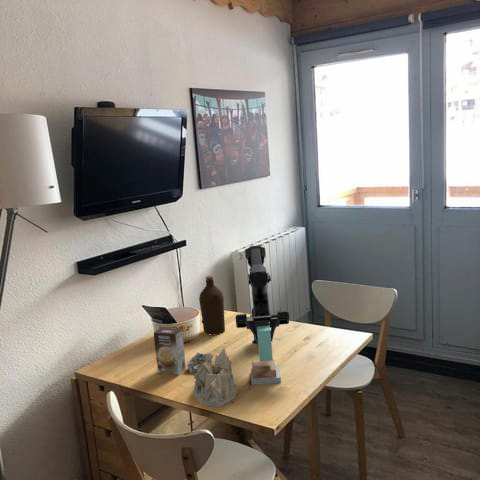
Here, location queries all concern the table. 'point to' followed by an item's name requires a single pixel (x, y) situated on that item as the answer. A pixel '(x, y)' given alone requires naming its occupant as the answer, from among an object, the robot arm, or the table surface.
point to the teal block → (264, 343)
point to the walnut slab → (264, 369)
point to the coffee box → (169, 350)
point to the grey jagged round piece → (215, 381)
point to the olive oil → (212, 308)
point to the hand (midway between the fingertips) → (264, 341)
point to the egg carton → (193, 361)
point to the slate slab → (267, 378)
